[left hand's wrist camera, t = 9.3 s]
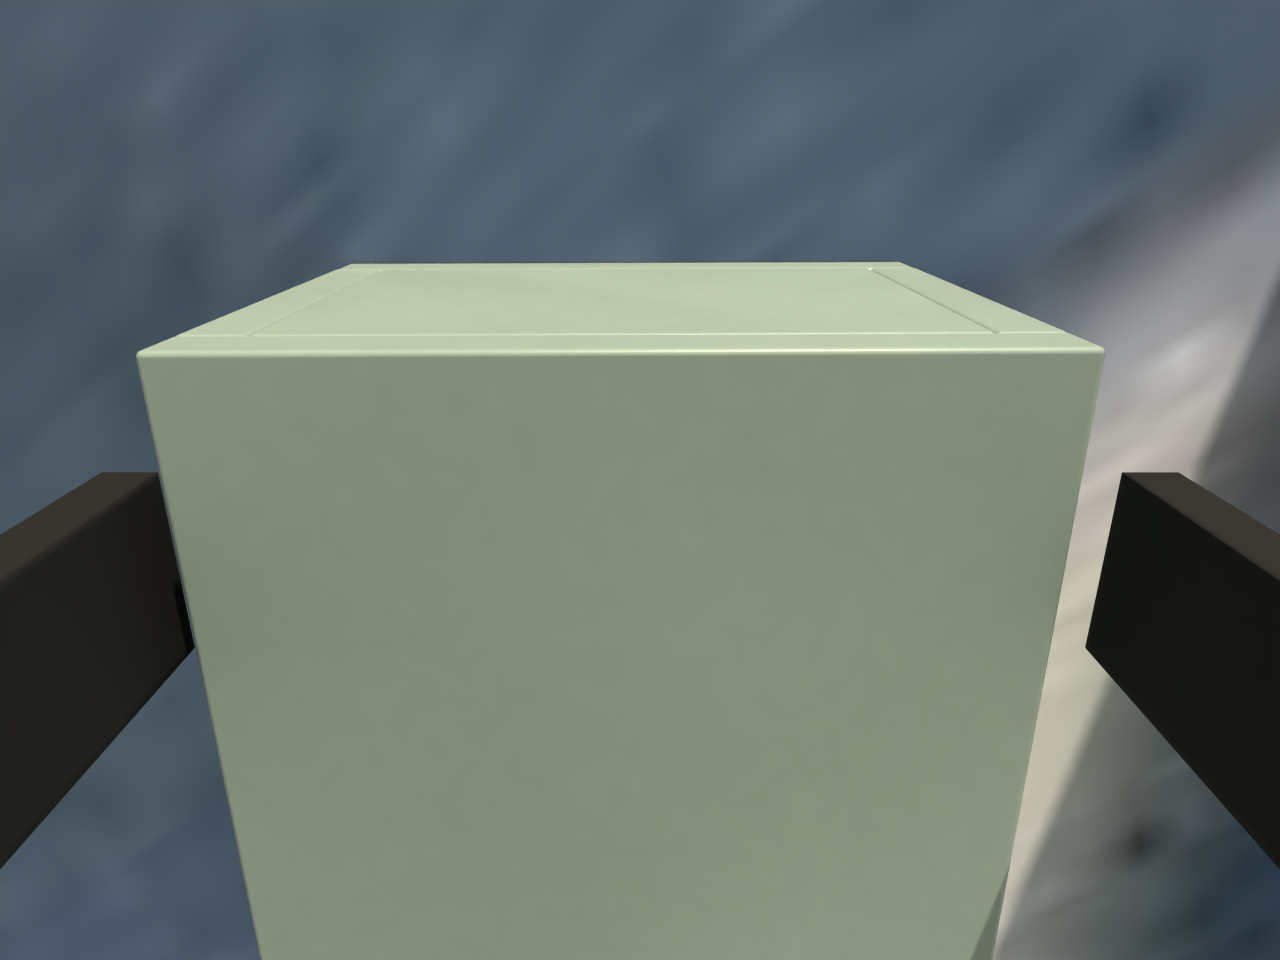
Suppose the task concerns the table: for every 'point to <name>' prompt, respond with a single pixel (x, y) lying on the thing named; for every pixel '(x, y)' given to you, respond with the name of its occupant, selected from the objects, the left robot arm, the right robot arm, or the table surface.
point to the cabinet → (623, 603)
